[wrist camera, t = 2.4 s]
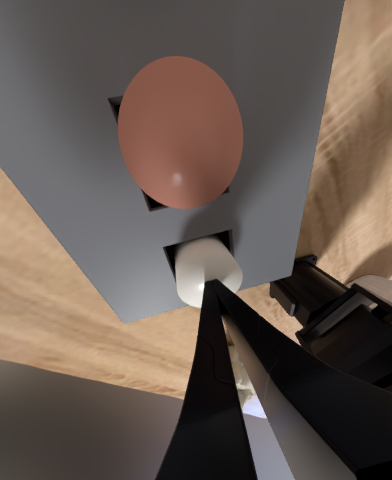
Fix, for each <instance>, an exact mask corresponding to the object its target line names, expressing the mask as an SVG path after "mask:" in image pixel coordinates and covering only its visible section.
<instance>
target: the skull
mask: <svg viewBox="0 0 392 480" xmlns="http://www.w3.org/2000/svg"><path fill="white" fill-rule="evenodd" d="M228 349H229V354H230V358H231V363H232V368H233V372H234V377H235V382H236V387H237V391H238V395H239V400H240V404H241V409H242V408H243V405H244V403H245V402H246V401H247V400H249V399H251V397H252V396H253V395H257V394H256V392H255V390H254V388H253V385H252V383H251V381H250V379H249V377H248V374H247V372H246V370H245V368H244V365H243V363H242V361H241V359H240V357H239V354H238V352H237V350H236V348H235V346H229V345H228ZM242 413H243V412H242Z"/></svg>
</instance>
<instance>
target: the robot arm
mask: <svg viewBox="0 0 392 480" xmlns="http://www.w3.org/2000/svg"><path fill="white" fill-rule="evenodd" d="M316 261H317V256H315V255H309V256H306V257H302V258H299V259H295V260H294V264H293V269H292V274H291V276H288V277H285V278H281V279H278V280H275V281H271V286H270V296H271V298H275V299H276V300H277V301H278V302H279V304H280V305H281V306H282V307H283V308H284V310H285V311H286V312H287V313H288V314H289V315H290V316H291V317H292V316H294V317H295V318H296V319H297V320H298V321H299V323H300V324H301V325H302V326H303V328H302V329H301V330H300V331H297V332H296V333H295V335H296V337H297V339H298V340H299V343H300V344H301V346H302V347H301V346H300V345H298V344H297V343H296V342H294V341H293V340H291V339H290V338H289V337H287V336H286V335H284V334H283V333H282V332H280V331H279V330H278V329H276V328H275V327H274V326H273V325H271V324H270V323H269V322H268V321H266V320H265V319H264V318H263V317H262V316H259V314H258V313H257V312H256V311H255V310H253V309H252V308H251V307H250V306H249V305H247V304H246V303H245V302H244V301H243V300H242V299H240V298H239V297H238V296H237V295H236V294H235V293H233V292H232V291H231V290H230V289H229V288H227V287H226V286H225V285H224V284H223V283H222V282H220V281H219V280H218V279H213V280H211V281H210V280H209V281H206V282H205V283H204V290H203V298H202V305H201V313H200V321H199V328H198V335H197V343H196V349H195V355H194V360H193V364H192V369H191V373H190V377H189V381H188V385H187V389H186V394H185V398H184V402H183V406H182V410H181V413H180V416H179V419H178V423H177V426H176V428H175V431H174V433H173V436H172V438H171V441H170V444H169V446H168V448H167V451H166V453H165V456H164V459H163V461H162V463H161V465H160V468H159V470H158V473H157V475H156V478H155V480H258V479H257V474H256V470H255V466H254V461H253V457H252V452H251V448H250V444H249V439H248V435H247V431H246V427H245V422H244V418H243V413H242V409H241V404H240V400H239V395H238V391H237V387H236V382H235V377H234V372H233V368H232V363H231V358H230V354H229V349H228V344H227V340H226V335H225V330H224V326H223V321H224V323H225V326H226V328H227V330H228V332H229V334H230V337H231V339H232V341H233V343H234V346H235V348H236V350H237V352H238V354H239V357H240V359H241V361H242V363H243V365H244V368H245V370H246V372H247V374H248V377H249V379H250V381H251V383H252V385H253V388H254V390H255V392H256V394H257V396H258V399H259V401H260V403H261V405H262V407H263V410H264V412H265V414H266V416H267V418H268V421H269V423H270V425H271V427H272V429H273V432H274V434H275V436H276V438H277V441H278V443H279V445H280V447H281V449H282V452H283V454H284V456H285V458H286V461H287V463H288V465H289V467H290V469H291V472H292V474H293V476H294V478H295V480H392V303H391V302H390V301H388V300H386V299H384V298H383V297H381V296H379V295H378V294H376V293H374V292H372V291H370V290H368V289H366V288H364V287H362V286H360V285H358V284H356V283H353V284H352V285H351V288H348V287H347V286H345V285H344V284H342V283H341V282H339V281H338V280H336V279H335V278H333V277H332V276H330V275H329V274H327V273H326V272H324V271H322V270H321V269H319V268H318V267H316V266H315V264H316ZM373 303H376V304H377V306H376V307H375V308H373V309H372V308H370V307H369V306H370V305H372V304H373ZM222 319H223V321H222Z"/></svg>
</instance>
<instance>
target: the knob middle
mask: <svg viewBox="0 0 392 480" xmlns="http://www.w3.org/2000/svg"><path fill="white" fill-rule="evenodd" d="M118 138H119V145H120V149H121V153H122V156H123V159H124V162H125V164H126V167H127V169H128V171H129V172H130V174H131V176H132V178H133V179H134V180H135V182H136V183H137V184H138V186H139V187H140V188H141V189H142V190H143V191H144V192H145V193H146V194H147V195H149V196H150V197H151V198H153V199H154V200H156V201H157V202H159V203H161V204H163V205H166V206H169V207H173V208H177V209H192V208H197V207H200V206H203V205H206V204H208V203H210V202H211V201H213V200H215V199H216V198H217V197H218V196H220V195H221V194H222V193H223V192H224V191H225V190H226V188H227V187H228V186H229V184H230V183H231V181H232V180H233V178H234V176H235V174H236V172H237V169H238V166H239V163H240V160H241V155H242V149H243V126H242V120H241V115H240V112H239V108H238V105H237V103H236V101H235V98H234V96H233V94H232V93H231V91H230V89H229V87H228V86H227V85H226V83H225V82H224V81H223V79H222V78H221V77H220V76H219V75H218V74H217V73H216V72H215V71H214V70H212V69H211V68H210V67H208V66H207V65H205V64H203V63H202V62H200V61H198V60H195V59H192V58H189V57H183V56H169V57H164V58H161V59H157V60H155V61H153V62H151V63H149V64H148V65H147V66H145V67H144V68H143V69H141V70H140V71H139V72H138V73H137V75H136V76H135V77H134V78H133V79H132V81H131V82H130V84H129V86H128V87H127V89H126V91H125V94H124V96H123V98H122V102H121V106H120V110H119V116H118Z"/></svg>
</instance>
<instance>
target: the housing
mask: <svg viewBox="0 0 392 480" xmlns="http://www.w3.org/2000/svg"><path fill="white" fill-rule="evenodd" d="M344 1H345V0H0V167H1V168H2V170H3V171H4V172H5V174H6V175H7V176H8V177H9V179H10V180H11V181H12V182H13V184H14V185H15V186H16V188H17V189H18V190H19V191H20V193H21V194H22V195H23V196H24V198H25V199H26V200H27V202H28V203H29V204H30V205H31V207H32V208H33V209H34V210H35V212H36V213H37V214H38V216H39V217H40V218H41V219H42V221H43V222H44V223H45V224H46V226H47V227H48V228H49V229H50V231H51V232H52V233H53V235H54V236H55V237H56V238H57V240H58V241H59V242H60V243H61V245H62V246H63V247H64V249H65V250H66V251H67V252H68V254H69V255H70V256H71V257H72V259H73V260H74V261H75V263H76V264H77V265H78V266H79V268H80V269H81V270H82V271H83V273H84V274H85V275H86V277H87V278H88V279H89V280H90V282H91V283H92V284H93V285H94V287H95V288H96V289H97V291H98V292H99V293H100V294H101V296H102V297H103V298H104V299H105V301H106V302H107V303H108V304H109V306H110V307H111V308H112V310H113V311H114V312H115V313H116V315H117V316H118V317H119V318H120V320H121V321H122V322H123V324H126V323H130V322H133V321H137V320H140V319H143V318H147V317H150V316H154V315H157V314H161V313H164V312H168V311H171V310H175V309H178V308H181V307H185V306H188V304H186V303H185V302H183V301H182V300H181V298H180V297H179V295H178V292H177V284H176V270H175V267H173V268H172V265H171V263H170V260H169V257H168V254H167V252H166V249H165V246H169V245H172V244H176V243H180V242H184V241H188V240H192V239H196V238H199V237H203V236H207V235H211V234H215V233H219V232H223V231H226V230H228V231H229V243H230V254H231V255H232V256H233V258H234V259H235V261H236V262H237V263H238V265H239V266H240V268H241V270H242V274H243V279H242V283H241V286H240V287H239V289H238V291H240V290H243V289H247V288H250V287H254V286H257V285H261V284H264V283H268V282H271V281H275V280H278V279H281V278H285V277H288V276H291V274H292V269H293V264H294V259H295V254H296V248H297V243H298V238H299V233H300V228H301V223H302V218H303V212H304V207H305V202H306V197H307V192H308V187H309V181H310V176H311V171H312V166H313V161H314V156H315V150H316V145H317V140H318V135H319V130H320V125H321V119H322V114H323V109H324V104H325V99H326V94H327V89H328V83H329V78H330V73H331V68H332V63H333V58H334V52H335V47H336V42H337V37H338V32H339V27H340V21H341V16H342V11H343V6H344ZM169 56H183V57H189V58H192V59H195V60H198V61H200V62H202V63H203V64H205V65H207V66H208V67H210V68H211V69H212V70H214V71H215V72H216V73H217V74H218V75H219V76H220V77H221V78H222V79H223V81H224V82H225V83H226V85H227V86H228V87H229V89H230V91H231V93H232V94H233V96H234V98H235V101H236V103H237V105H238V108H239V112H240V115H241V120H242V126H243V149H242V155H241V160H240V163H239V166H238V169H237V172H236V174H235V176H234V178H233V180H232V181H231V183H230V184H229V186H228V187H227V188H226V190H225V191H224V192H223V193H222V194H221V195H220V196H218V197H217V198H216V199H215V200H213V201H211V202H210V203H208V204H206V205H203V206H200V207H197V208H192V209H177V208H173V207H169V206H166V205H164V206H160V207H156V208H151V207H150V204H149V202H148V199H147V196H146V193H145V192H144V191H143V190H142V189H141V188H140V187H139V186H138V184H137V183H136V182H135V180H134V179H133V178H132V176H131V174H130V172H129V171H128V169H127V167H126V164H125V162H124V159H123V156H122V153H121V149H120V145H119V138H118V116H117V113H116V110H115V107H114V106H116V105H121V102H122V98H123V96H124V94H125V91H126V89H127V87H128V86H129V84H130V82H131V81H132V79H133V78H134V77H135V76H136V75H137V73H138V72H139V71H140V70H141V69H143V68H144V67H145V66H147V65H148V64H149V63H151V62H153V61H155V60H157V59H161V58H164V57H169Z"/></svg>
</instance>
